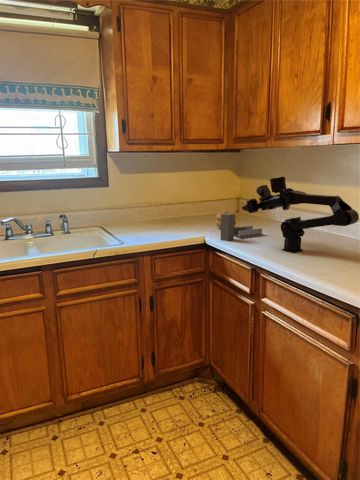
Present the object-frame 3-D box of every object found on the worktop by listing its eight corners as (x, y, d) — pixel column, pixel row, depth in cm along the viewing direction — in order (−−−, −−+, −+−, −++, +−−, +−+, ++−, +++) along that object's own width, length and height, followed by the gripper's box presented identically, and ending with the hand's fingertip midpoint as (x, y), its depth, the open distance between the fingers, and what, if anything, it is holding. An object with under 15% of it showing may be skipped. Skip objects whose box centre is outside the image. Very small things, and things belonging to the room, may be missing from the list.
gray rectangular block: (233, 239, 189) (234, 213, 186) (228, 241, 185) (228, 215, 182) (225, 238, 192) (225, 212, 189) (220, 239, 188) (220, 214, 185)
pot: (219, 225, 223) (219, 209, 220) (238, 227, 218) (239, 210, 215) (212, 229, 212) (212, 212, 210) (232, 231, 207) (232, 213, 205)
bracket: (264, 235, 196) (265, 229, 195) (240, 238, 189) (241, 232, 189) (250, 231, 207) (250, 224, 206) (226, 233, 201) (227, 227, 200)
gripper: (283, 182, 176) (257, 189, 188) (258, 185, 164) (232, 192, 176) (287, 206, 176) (261, 211, 188) (263, 210, 164) (236, 215, 176)
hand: (248, 207), depth 182 cm, fingers open, 9 cm apart
